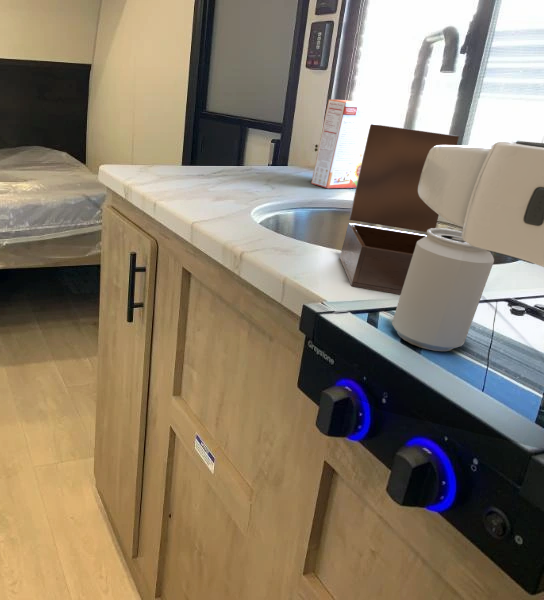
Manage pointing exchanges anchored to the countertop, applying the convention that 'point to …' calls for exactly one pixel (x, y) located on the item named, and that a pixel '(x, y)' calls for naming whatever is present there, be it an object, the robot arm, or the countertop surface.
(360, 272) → the chest
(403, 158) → the lid
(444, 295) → the can
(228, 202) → the countertop surface
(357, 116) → the cracker box
